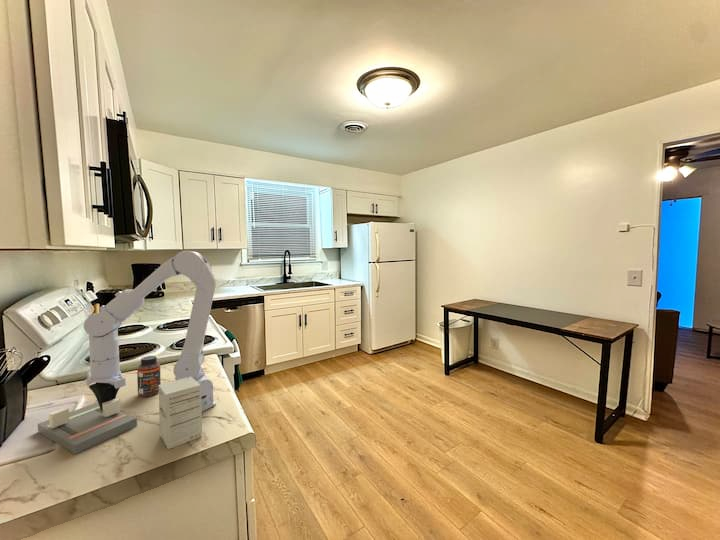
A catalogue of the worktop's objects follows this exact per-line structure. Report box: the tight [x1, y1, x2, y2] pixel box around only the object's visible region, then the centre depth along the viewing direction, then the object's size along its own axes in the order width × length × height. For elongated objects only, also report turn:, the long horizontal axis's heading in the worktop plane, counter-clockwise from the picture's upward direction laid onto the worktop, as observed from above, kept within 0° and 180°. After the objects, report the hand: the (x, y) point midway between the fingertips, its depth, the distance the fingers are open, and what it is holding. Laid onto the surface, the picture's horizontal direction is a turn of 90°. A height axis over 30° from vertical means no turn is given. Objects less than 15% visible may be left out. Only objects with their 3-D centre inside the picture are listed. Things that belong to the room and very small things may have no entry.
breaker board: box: [37, 401, 138, 455], centre depth 74 cm, size 19×12×2 cm, turn 64°
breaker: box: [48, 407, 70, 428], centre depth 71 cm, size 2×3×3 cm, turn 154°
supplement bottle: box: [136, 355, 162, 398], centre depth 93 cm, size 6×6×11 cm
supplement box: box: [158, 377, 203, 450], centre depth 70 cm, size 7×7×13 cm
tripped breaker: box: [102, 397, 121, 417], centre depth 76 cm, size 2×3×3 cm, turn 154°
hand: (107, 409), depth 77 cm, fingers closed
